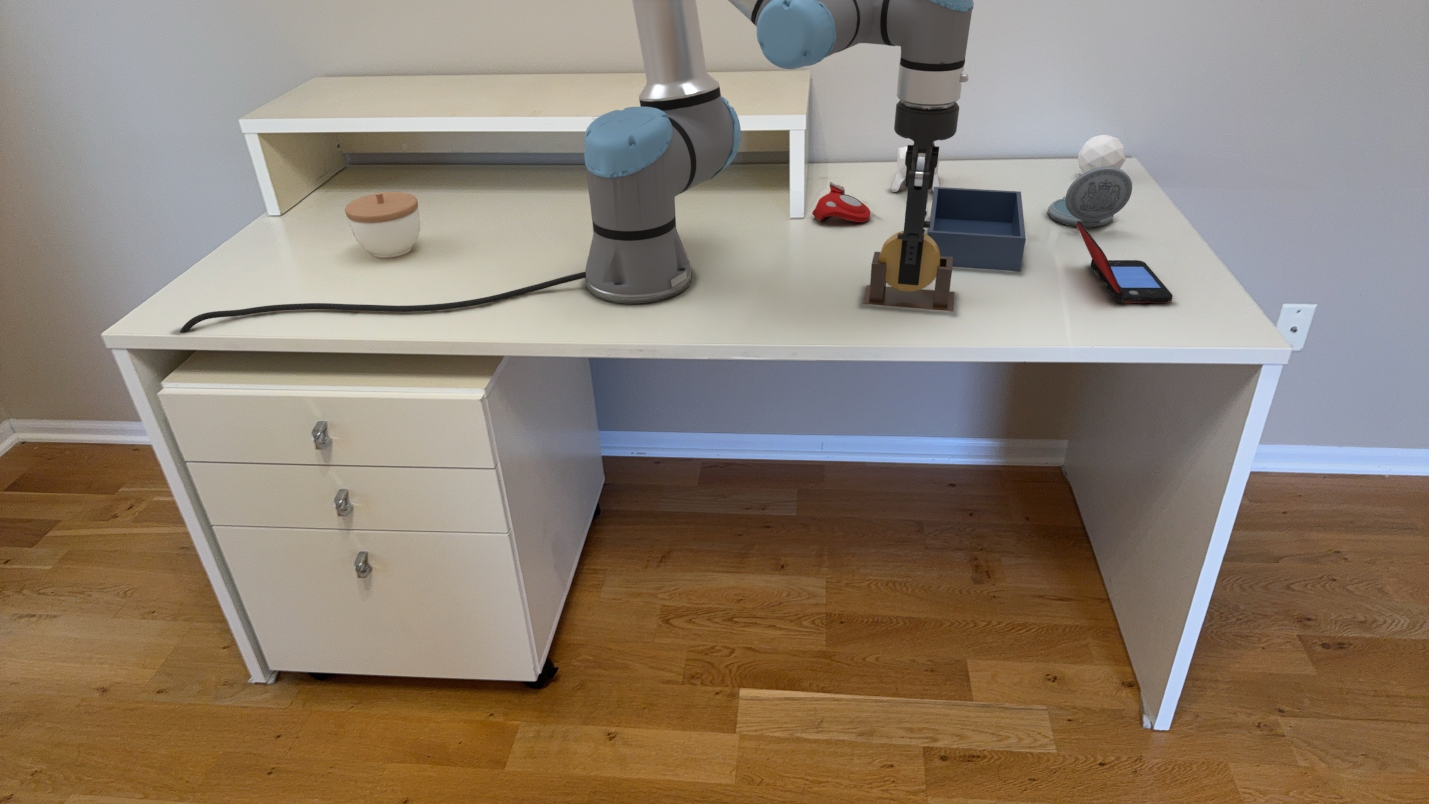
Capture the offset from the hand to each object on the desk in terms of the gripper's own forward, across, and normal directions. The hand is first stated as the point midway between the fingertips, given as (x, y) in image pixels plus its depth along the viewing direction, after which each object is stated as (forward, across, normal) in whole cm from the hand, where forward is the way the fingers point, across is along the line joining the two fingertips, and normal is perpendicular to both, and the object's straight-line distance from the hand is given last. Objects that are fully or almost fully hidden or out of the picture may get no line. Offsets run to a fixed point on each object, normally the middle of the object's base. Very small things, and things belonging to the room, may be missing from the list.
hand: (908, 278), depth 122 cm
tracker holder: (+4, +31, +13) cm, 33 cm away
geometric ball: (+3, +56, -30) cm, 64 cm away
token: (+1, 0, 0) cm, 1 cm away
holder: (+3, 0, 0) cm, 3 cm away
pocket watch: (+3, +35, -25) cm, 44 cm away
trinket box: (+4, +3, +80) cm, 81 cm away
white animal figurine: (+4, +46, +1) cm, 46 cm away
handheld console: (+3, +10, -28) cm, 30 cm away
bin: (+3, +21, -8) cm, 23 cm away
